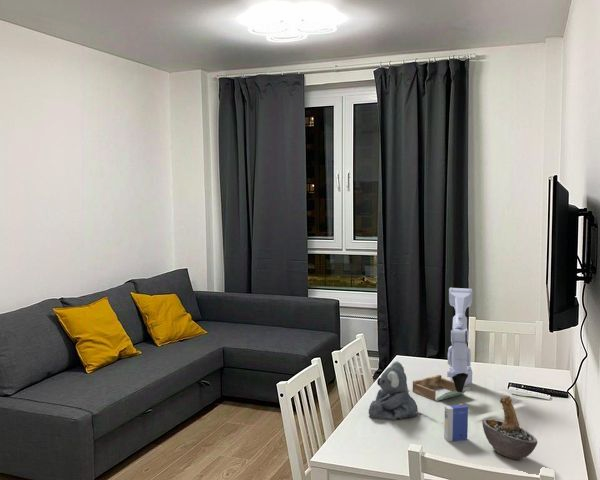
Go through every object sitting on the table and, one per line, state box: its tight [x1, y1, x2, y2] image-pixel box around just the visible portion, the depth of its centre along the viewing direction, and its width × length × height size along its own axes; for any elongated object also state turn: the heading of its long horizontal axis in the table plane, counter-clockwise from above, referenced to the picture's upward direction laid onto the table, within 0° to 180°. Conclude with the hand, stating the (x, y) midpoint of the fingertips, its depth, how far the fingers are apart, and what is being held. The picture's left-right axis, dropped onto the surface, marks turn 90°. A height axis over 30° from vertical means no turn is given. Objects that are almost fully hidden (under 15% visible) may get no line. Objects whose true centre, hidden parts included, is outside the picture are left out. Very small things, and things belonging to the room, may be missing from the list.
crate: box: [412, 374, 456, 401], centre depth 252 cm, size 16×12×6 cm
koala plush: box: [368, 360, 419, 421], centre depth 231 cm, size 17×18×20 cm
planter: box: [481, 394, 539, 461], centre depth 195 cm, size 15×17×20 cm
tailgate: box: [436, 386, 472, 401], centre depth 244 cm, size 14×1×7 cm
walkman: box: [443, 403, 469, 442], centre depth 208 cm, size 8×3×12 cm, turn 105°
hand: (459, 391), depth 241 cm, fingers closed, pressing on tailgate
